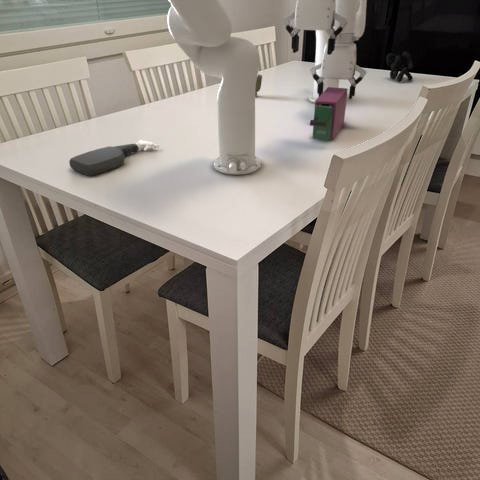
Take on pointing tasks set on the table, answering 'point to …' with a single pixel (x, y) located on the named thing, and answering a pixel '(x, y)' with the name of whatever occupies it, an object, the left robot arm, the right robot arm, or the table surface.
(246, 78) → the left robot arm
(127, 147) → the spray bottle
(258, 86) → the cup
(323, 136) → the drawer
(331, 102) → the tall purple box
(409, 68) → the squiggle
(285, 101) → the table surface
